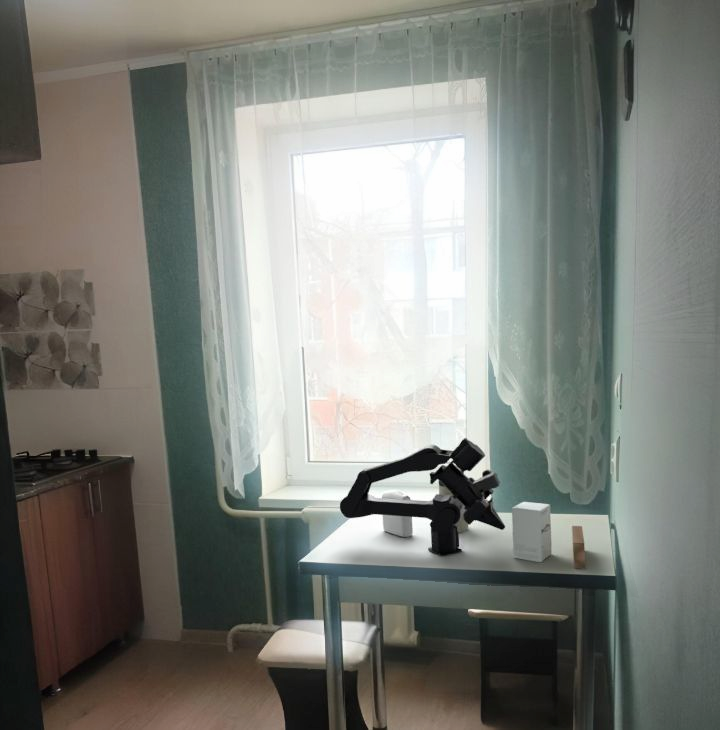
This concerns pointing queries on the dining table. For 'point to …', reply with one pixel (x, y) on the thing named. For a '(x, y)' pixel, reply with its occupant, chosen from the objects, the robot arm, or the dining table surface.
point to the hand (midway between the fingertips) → (504, 528)
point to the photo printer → (397, 517)
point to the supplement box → (531, 531)
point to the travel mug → (462, 524)
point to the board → (578, 547)
